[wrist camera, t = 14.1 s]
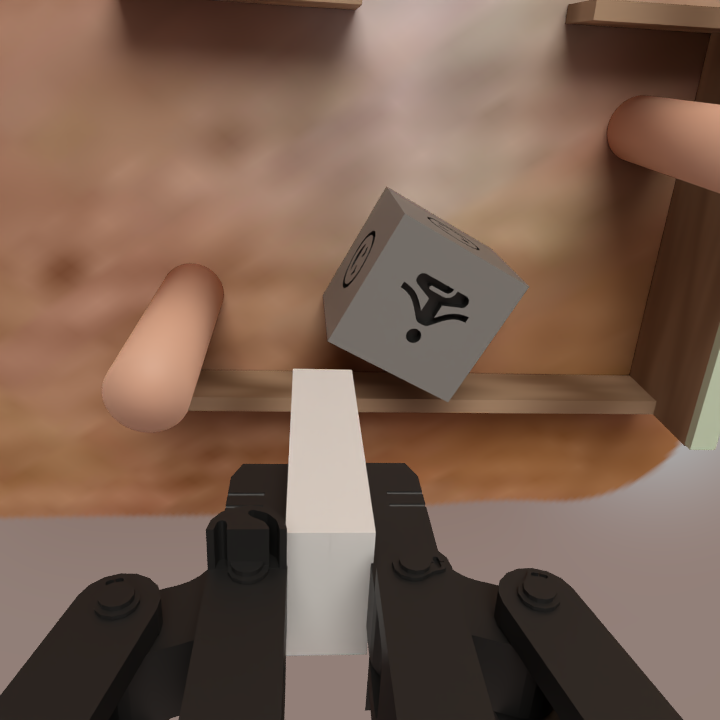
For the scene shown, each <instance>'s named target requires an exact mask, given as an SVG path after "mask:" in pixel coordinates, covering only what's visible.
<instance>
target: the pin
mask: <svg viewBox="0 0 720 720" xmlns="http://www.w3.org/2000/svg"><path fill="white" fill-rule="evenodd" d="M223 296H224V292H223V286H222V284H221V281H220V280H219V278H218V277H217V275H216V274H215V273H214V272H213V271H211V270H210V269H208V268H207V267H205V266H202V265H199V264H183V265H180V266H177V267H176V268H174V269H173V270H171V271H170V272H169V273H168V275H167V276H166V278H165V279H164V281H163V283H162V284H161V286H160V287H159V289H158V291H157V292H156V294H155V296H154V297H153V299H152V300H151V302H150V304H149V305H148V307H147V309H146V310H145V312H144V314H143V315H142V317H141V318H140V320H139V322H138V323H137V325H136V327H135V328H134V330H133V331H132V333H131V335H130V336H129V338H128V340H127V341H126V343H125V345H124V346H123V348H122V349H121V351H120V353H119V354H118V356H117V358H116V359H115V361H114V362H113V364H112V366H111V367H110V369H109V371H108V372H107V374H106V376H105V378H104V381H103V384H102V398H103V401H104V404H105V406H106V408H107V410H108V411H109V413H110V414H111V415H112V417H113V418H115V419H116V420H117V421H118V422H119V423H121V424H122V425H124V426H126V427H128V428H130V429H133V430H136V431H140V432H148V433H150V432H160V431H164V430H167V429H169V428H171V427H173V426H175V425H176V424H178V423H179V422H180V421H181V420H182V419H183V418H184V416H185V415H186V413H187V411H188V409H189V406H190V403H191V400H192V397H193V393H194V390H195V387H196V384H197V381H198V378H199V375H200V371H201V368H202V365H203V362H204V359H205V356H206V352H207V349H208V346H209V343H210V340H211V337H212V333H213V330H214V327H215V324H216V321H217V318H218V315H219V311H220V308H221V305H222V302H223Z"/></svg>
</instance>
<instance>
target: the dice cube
mask: <svg viewBox="0 0 720 720" xmlns="http://www.w3.org/2000/svg"><path fill="white" fill-rule="evenodd" d="M528 288H529V286H528V285H527V284H526V283H525V282H524V281H523V280H522V279H521V278H520V277H519V276H518V275H517V274H516V273H515V272H514V271H513V270H512V269H511V268H510V267H509V266H508V265H507V264H506V263H505V262H504V261H503V260H502V259H501V258H500V257H499V256H498V255H497V254H496V253H495V252H494V251H493V250H492V249H491V248H489V247H488V246H486V245H484V244H483V243H481V242H479V241H478V240H476V239H474V238H472V237H471V236H469V235H467V234H466V233H464V232H462V231H461V230H459V229H457V228H456V227H454V226H452V225H451V224H449V223H447V222H446V221H444V220H442V219H441V218H439V217H437V216H435V215H434V214H432V213H430V212H429V211H427V210H425V209H424V208H422V207H420V206H419V205H417V204H415V203H414V202H412V201H410V200H409V199H407V198H405V197H404V196H402V195H400V194H399V193H397V192H395V191H393V190H392V189H390V188H388V187H386V188H385V190H384V192H383V193H382V195H381V197H380V198H379V200H378V202H377V204H376V205H375V207H374V209H373V210H372V212H371V214H370V216H369V217H368V219H367V221H366V222H365V224H364V226H363V228H362V229H361V231H360V233H359V234H358V236H357V238H356V239H355V241H354V243H353V245H352V246H351V248H350V250H349V251H348V253H347V255H346V257H345V258H344V260H343V262H342V263H341V265H340V267H339V268H338V270H337V272H336V274H335V275H334V277H333V279H332V280H331V282H330V284H329V286H328V287H327V289H326V291H325V292H324V294H323V300H324V310H325V320H326V330H327V340H328V342H330V343H332V344H334V345H336V346H338V347H340V348H342V349H344V350H346V351H348V352H350V353H352V354H354V355H356V356H358V357H360V358H361V359H363V360H365V361H367V362H369V363H371V364H373V365H375V366H377V367H379V368H381V369H383V370H385V371H387V372H389V373H391V374H393V375H395V376H397V377H399V378H401V379H403V380H405V381H407V382H409V383H411V384H413V385H415V386H417V387H419V388H421V389H423V390H425V391H427V392H429V393H431V394H433V395H435V396H437V397H439V398H441V399H443V400H444V401H446V402H449V401H450V399H451V398H452V396H453V395H454V393H455V392H456V391H457V389H458V388H459V386H460V385H461V383H462V382H463V381H464V379H465V378H466V376H467V375H468V373H469V372H470V371H471V369H472V368H473V366H474V365H475V363H476V362H477V361H478V359H479V358H480V356H481V355H482V353H483V352H484V351H485V349H486V348H487V346H488V345H489V343H490V342H491V341H492V339H493V338H494V336H495V335H496V333H497V332H498V331H499V329H500V328H501V326H502V325H503V323H504V322H505V321H506V319H507V318H508V316H509V315H510V313H511V312H512V311H513V309H514V308H515V306H516V305H517V303H518V302H519V301H520V299H521V298H522V296H523V295H524V293H525V292H526V291H527V289H528Z"/></svg>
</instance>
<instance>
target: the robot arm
mask: <svg viewBox="0 0 720 720" xmlns="http://www.w3.org/2000/svg"><path fill="white" fill-rule="evenodd" d="M206 539H207V540H206V541H207V561H208V570H207V571H205V572H204V573H203V574H202V575H200V576H199V577H197V578H196V579H193V580H191V581H190V582H187V583H184V584H181V585H178V586H174V587H170V588H165V589H162V590H159V588H158V586H157V585H156V584H155V583H154V582H153V581H152V580H151V579H150V578H147V577H144V576H141V575H139V574H117V575H113V576H108V577H104V578H103V579H100V580H98V581H96V582H94V583H92V584H90V585H89V586H88V587H87V588H86V589H85V590H83V592H81V593H80V594H79V595H78V596H77V597H76V599H75V600H74V601H73V603H72V604H71V605H70V607H69V608H68V609H67V610H66V612H65V613H64V614H63V616H62V617H61V618H60V619H59V621H58V622H57V623H56V625H55V626H54V627H53V628H52V630H51V631H50V632H49V633H48V635H47V636H46V637H45V639H44V640H43V641H42V643H41V644H40V645H39V646H38V648H37V649H36V650H35V652H34V653H33V654H32V655H31V657H30V658H29V659H28V661H27V662H26V663H25V664H24V666H23V667H22V668H21V670H20V671H19V672H18V673H17V675H16V676H15V677H14V679H13V680H12V681H11V682H10V684H9V685H8V686H7V688H6V689H5V690H4V691H3V693H2V694H1V695H0V720H169V719H170V718H173V717H176V716H179V715H180V716H179V720H284V708H285V672H286V656H304V655H355V654H356V655H357V654H367V642H368V648H369V656H370V657H369V669H368V682H367V696H366V708H365V710H371V719H372V720H683V719H682V718H681V716H680V715H679V714H678V713H677V712H676V711H675V709H674V708H673V707H672V706H671V705H670V704H669V702H668V701H667V700H666V699H665V697H664V696H663V695H662V694H661V693H660V691H658V689H657V688H656V687H655V686H654V684H653V683H652V682H651V681H650V680H649V679H648V677H647V676H646V675H645V674H644V672H643V671H642V670H641V669H640V668H639V667H638V666H637V664H636V663H635V662H634V661H633V659H632V658H631V657H630V656H629V655H628V653H627V652H626V651H625V650H624V649H623V648H622V646H621V645H620V644H619V643H618V642H617V640H616V639H615V638H614V637H613V636H612V634H611V633H610V632H609V631H608V630H607V629H606V627H605V626H604V625H603V624H602V623H601V621H600V620H599V619H598V618H597V617H596V615H595V614H594V613H593V612H592V611H591V609H590V608H589V607H588V606H587V605H586V604H585V602H584V601H583V600H582V599H581V598H580V596H579V595H578V594H577V593H576V592H575V590H574V589H573V588H572V587H571V586H570V585H568V584H567V583H566V582H565V581H564V580H563V579H561V578H559V577H557V576H555V575H553V574H551V573H549V572H547V571H542V570H538V569H533V568H525V569H516V570H514V571H511V572H508V573H506V575H505V576H504V577H503V578H502V579H501V580H500V583H499V586H498V585H494V584H489V583H485V582H480V581H477V580H474V579H470V578H467V577H465V576H463V575H461V574H459V573H457V572H455V571H454V570H452V566H451V565H450V563H449V561H448V559H447V558H446V557H445V556H444V555H443V554H441V553H440V552H439V551H438V549H437V546H436V542H435V538H434V535H433V531H432V527H431V523H430V520H429V516H428V512H427V509H426V507H425V501H424V497H423V494H422V490H421V486H420V483H419V479H418V476H417V475H416V474H415V473H414V472H413V471H412V470H411V469H410V468H409V467H408V466H407V465H406V464H405V463H365V456H364V449H363V443H362V436H361V429H360V422H359V415H358V408H357V402H356V395H355V388H354V381H353V374H352V370H335V369H293V380H292V401H291V422H290V443H289V464H243V465H242V466H241V467H240V468H239V469H238V470H237V471H236V472H235V474H234V475H233V476H232V477H231V480H230V486H229V491H228V497H227V502H226V508H225V511H223V512H221V513H220V514H218V515H217V516H216V517H214V518H213V519H212V520H211V521H210V523H209V525H208V527H207V529H206Z"/></svg>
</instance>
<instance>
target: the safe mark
mask: <svg viewBox="0 0 720 720" xmlns="http://www.w3.org/2000/svg"><path fill="white" fill-rule="evenodd" d="M719 436H720V323H719V327H718V330H717V334H716V337H715V341H714V344H713V347H712V351H711V354H710V358H709V361H708V365H707V368H706V372H705V375H704V379H703V382H702V386H701V389H700V392H699V396H698V399H697V403H696V406H695V410H694V413H693V417H692V420H691V424H690V427H689V431H688V434H687V437H686V441H685V445H686V446H687V447H688V448H689V449H690V450H715V448H716V445H717V442H718V439H719Z"/></svg>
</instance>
